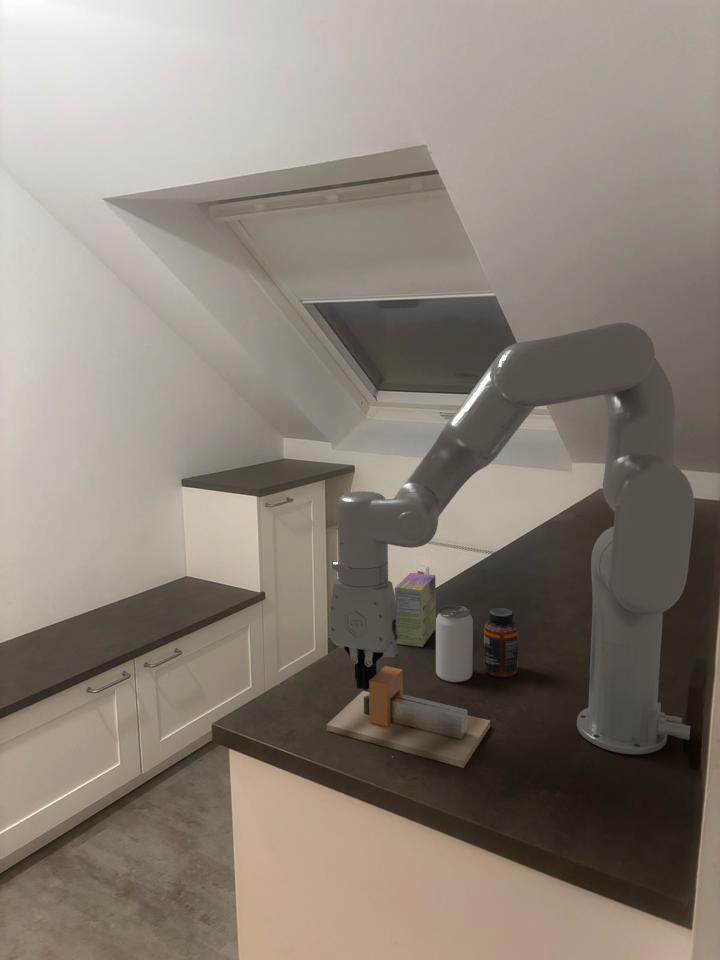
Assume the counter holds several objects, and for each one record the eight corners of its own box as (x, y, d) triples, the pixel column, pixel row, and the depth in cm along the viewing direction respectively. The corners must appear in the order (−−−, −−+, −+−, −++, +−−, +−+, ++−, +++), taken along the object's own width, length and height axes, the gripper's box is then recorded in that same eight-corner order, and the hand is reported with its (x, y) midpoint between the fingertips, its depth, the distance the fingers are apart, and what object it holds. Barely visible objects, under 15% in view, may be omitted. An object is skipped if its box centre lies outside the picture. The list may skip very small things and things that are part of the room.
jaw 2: (373, 711, 108) (373, 691, 107) (377, 708, 109) (377, 688, 108) (464, 734, 100) (464, 713, 100) (467, 731, 101) (467, 709, 101)
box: (410, 625, 145) (409, 571, 143) (436, 628, 143) (436, 574, 141) (394, 644, 136) (394, 587, 134) (422, 648, 134) (422, 590, 132)
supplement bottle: (522, 668, 124) (524, 609, 122) (510, 681, 119) (511, 620, 117) (491, 661, 127) (492, 603, 125) (478, 673, 123) (479, 613, 121)
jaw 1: (369, 716, 106) (369, 695, 106) (372, 712, 107) (372, 692, 107) (461, 739, 99) (461, 717, 99) (464, 735, 100) (464, 713, 100)
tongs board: (326, 730, 105) (326, 709, 104) (363, 696, 115) (362, 676, 115) (463, 768, 95) (463, 744, 94) (490, 726, 105) (490, 705, 104)
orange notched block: (370, 722, 105) (369, 680, 103) (385, 705, 110) (385, 665, 108) (387, 726, 103) (387, 684, 102) (403, 709, 108) (402, 669, 107)
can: (428, 675, 122) (428, 611, 120) (451, 663, 127) (451, 601, 125) (457, 687, 118) (457, 621, 116) (479, 674, 122) (480, 610, 120)
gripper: (308, 574, 104) (312, 686, 108) (397, 587, 97) (399, 707, 101) (333, 560, 111) (336, 667, 114) (418, 572, 104) (419, 685, 107)
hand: (365, 685), depth 107 cm, fingers closed
